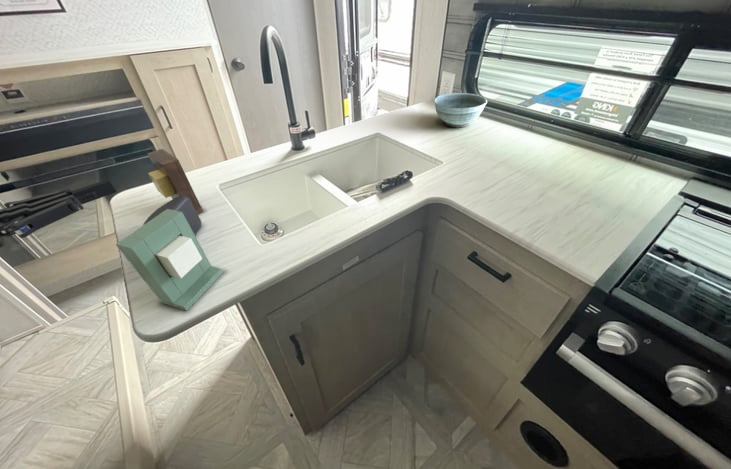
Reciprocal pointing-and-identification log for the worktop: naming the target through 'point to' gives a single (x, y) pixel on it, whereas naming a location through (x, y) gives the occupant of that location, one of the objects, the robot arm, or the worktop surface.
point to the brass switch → (162, 183)
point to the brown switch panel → (174, 176)
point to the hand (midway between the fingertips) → (112, 185)
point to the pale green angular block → (142, 258)
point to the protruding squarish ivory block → (178, 256)
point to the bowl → (459, 108)
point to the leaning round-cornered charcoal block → (183, 206)
